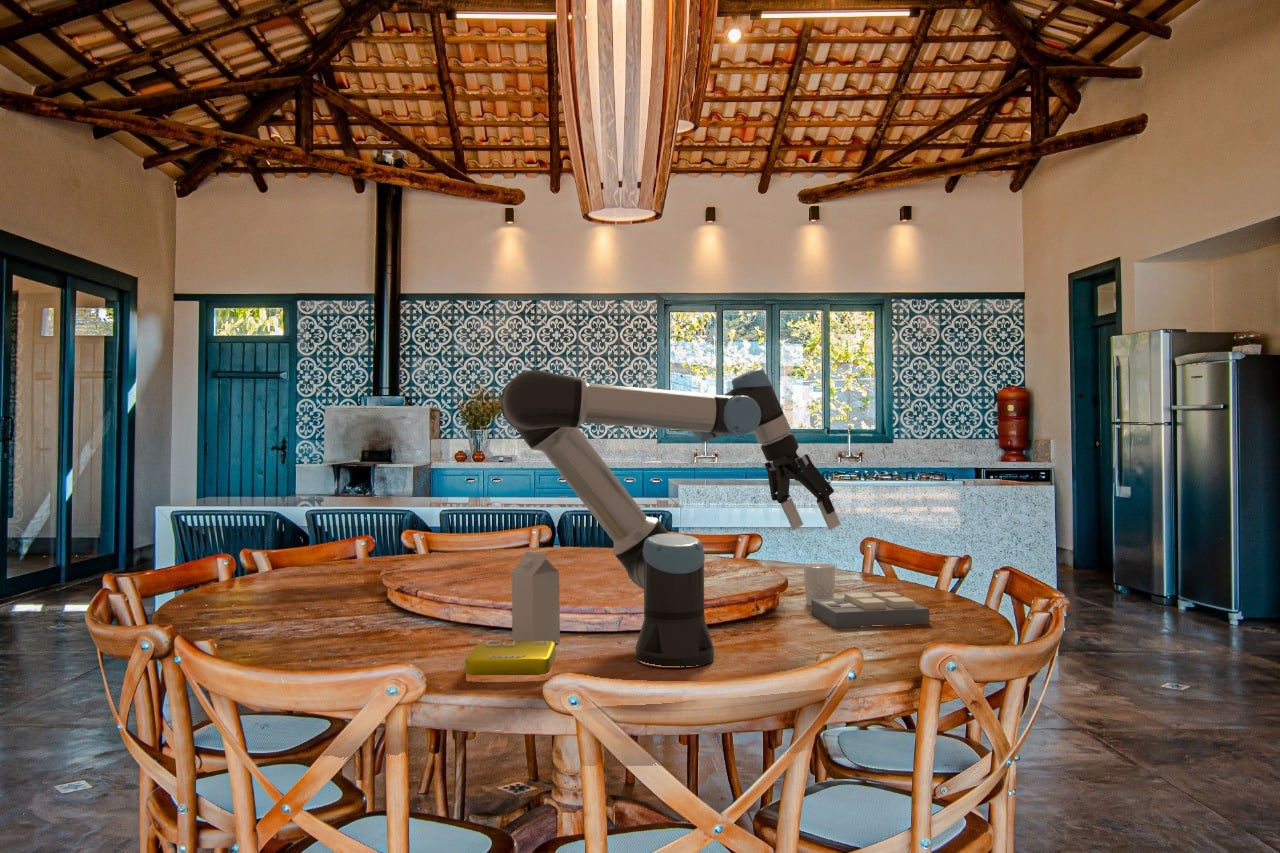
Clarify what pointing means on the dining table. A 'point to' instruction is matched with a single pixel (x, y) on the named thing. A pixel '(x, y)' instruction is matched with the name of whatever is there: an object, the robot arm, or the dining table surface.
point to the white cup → (819, 581)
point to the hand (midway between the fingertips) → (815, 527)
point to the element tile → (511, 658)
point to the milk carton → (535, 600)
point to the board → (865, 614)
